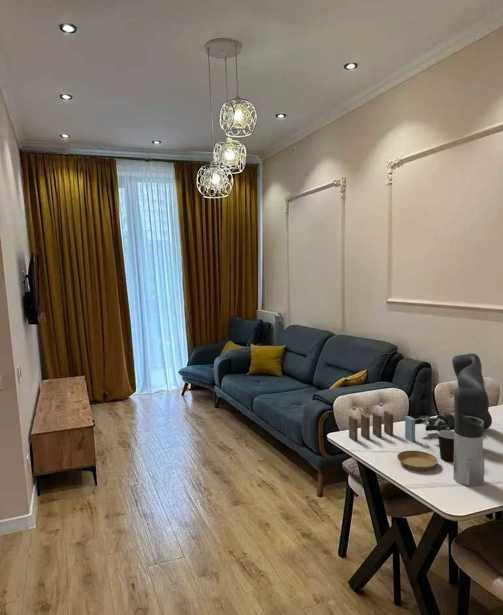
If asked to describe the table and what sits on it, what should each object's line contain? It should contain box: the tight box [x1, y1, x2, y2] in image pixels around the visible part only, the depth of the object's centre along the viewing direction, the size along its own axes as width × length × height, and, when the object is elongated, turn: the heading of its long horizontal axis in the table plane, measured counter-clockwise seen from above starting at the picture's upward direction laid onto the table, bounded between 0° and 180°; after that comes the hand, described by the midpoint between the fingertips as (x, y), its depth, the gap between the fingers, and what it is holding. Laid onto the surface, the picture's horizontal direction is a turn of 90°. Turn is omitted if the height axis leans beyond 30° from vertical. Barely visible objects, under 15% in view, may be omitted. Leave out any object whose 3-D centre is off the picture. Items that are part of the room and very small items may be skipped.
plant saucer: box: [396, 449, 438, 471], centre depth 174 cm, size 15×15×3 cm
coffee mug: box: [437, 430, 454, 463], centre depth 178 cm, size 12×9×10 cm
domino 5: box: [404, 415, 416, 443], centre depth 197 cm, size 2×5×10 cm, turn 16°
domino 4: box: [383, 410, 394, 437], centre depth 205 cm, size 2×5×10 cm, turn 16°
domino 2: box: [360, 413, 371, 440], centre depth 201 cm, size 2×5×10 cm, turn 16°
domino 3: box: [372, 411, 383, 438], centre depth 203 cm, size 2×5×10 cm, turn 16°
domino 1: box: [348, 415, 359, 442], centre depth 200 cm, size 2×5×10 cm, turn 16°
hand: (419, 425), depth 198 cm, fingers open, 8 cm apart
